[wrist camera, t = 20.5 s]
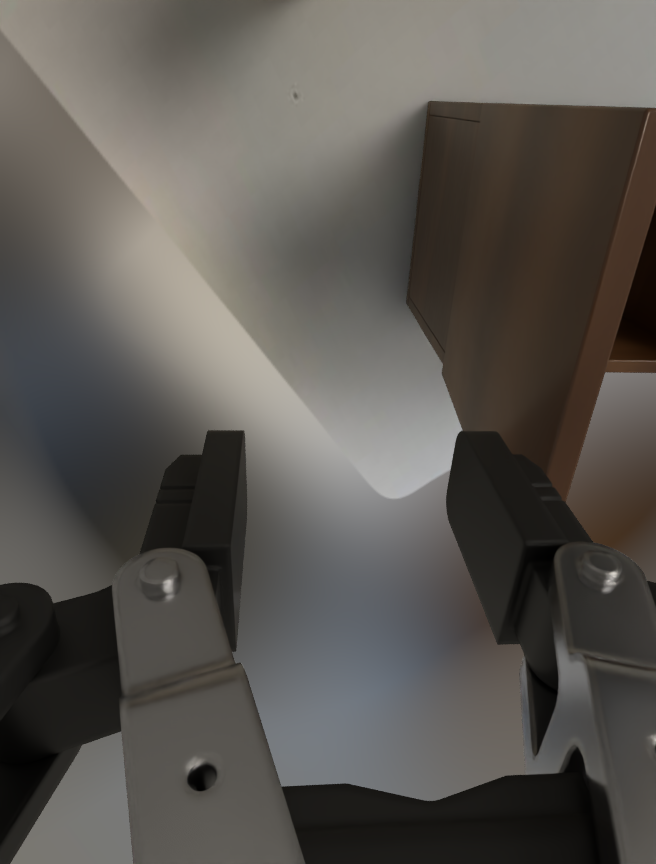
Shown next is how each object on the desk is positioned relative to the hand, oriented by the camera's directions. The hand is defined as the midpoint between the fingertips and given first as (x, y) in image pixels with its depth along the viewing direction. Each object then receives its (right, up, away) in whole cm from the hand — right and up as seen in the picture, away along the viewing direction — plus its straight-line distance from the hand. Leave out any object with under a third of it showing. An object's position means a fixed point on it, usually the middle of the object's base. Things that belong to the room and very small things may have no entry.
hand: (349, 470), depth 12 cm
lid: (+7, +6, +11) cm, 14 cm away
